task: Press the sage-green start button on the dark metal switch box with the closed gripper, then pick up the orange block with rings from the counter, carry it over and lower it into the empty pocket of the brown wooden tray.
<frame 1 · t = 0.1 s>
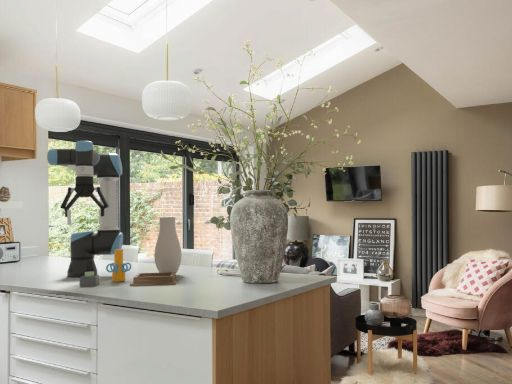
hand: (84, 224, 224), 28 cm above the worktop, fingers open, 13 cm apart
start button: (89, 275, 232), point 4 cm above the worktop, slide at 0.0 cm
brown wooden tray: (155, 282, 237), on the worktop
orange block with rings: (119, 281, 245), on the worktop
switch box: (89, 285, 232), on the worktop
vase: (168, 275, 263), on the worktop
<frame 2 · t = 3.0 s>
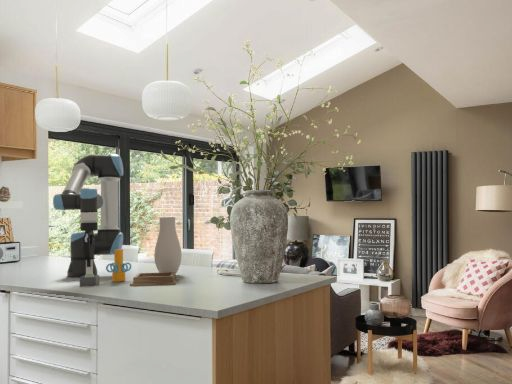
hand: (89, 273, 232), 5 cm above the worktop, fingers closed
start button: (89, 277, 232), point 3 cm above the worktop, slide at 1.1 cm, touching gripper
everything else where it was.
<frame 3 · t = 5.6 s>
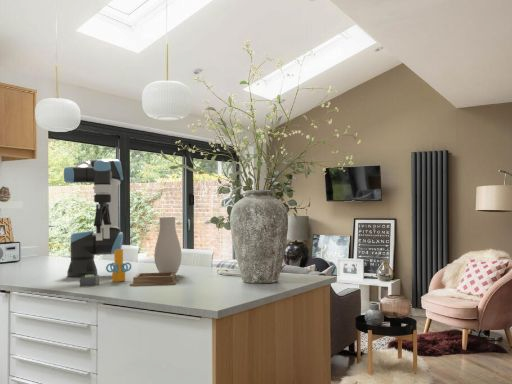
hand: (102, 239, 239), 20 cm above the worktop, fingers open, 13 cm apart
start button: (89, 278, 232), point 3 cm above the worktop, slide at 1.4 cm
everything else where it was.
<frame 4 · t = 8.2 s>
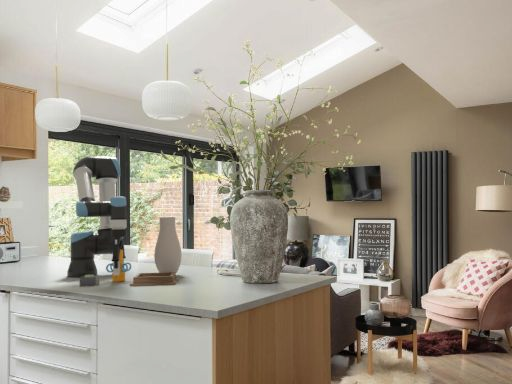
hand: (119, 273, 245), 3 cm above the worktop, fingers closed on orange block with rings, 12 cm apart
orange block with rings: (119, 281, 245), on the worktop, touching gripper
everything else where it was.
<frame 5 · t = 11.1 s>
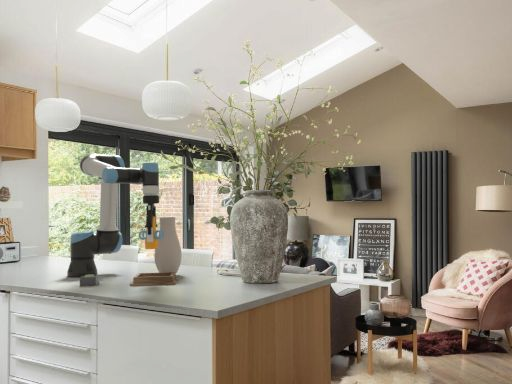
hand: (151, 241, 238), 19 cm above the worktop, fingers closed on orange block with rings, 12 cm apart
orange block with rings: (151, 249, 238), point 15 cm above the worktop, touching gripper
everything else where it was.
when the fingers open (6 cm above the worktop, at t = 14.2 s): orange block with rings drops 2 cm, resting on brown wooden tray.
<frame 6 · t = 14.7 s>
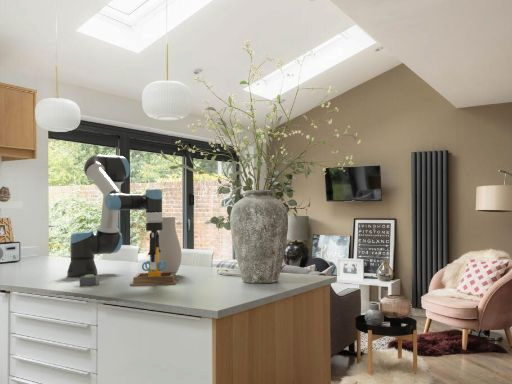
hand: (154, 267, 238), 7 cm above the worktop, fingers open, 13 cm apart
orange block with rings: (154, 280, 237), point 1 cm above the worktop, touching brown wooden tray
everything else where it was.
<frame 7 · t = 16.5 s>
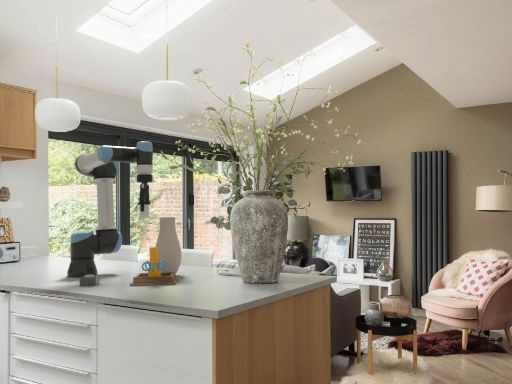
hand: (144, 218, 245), 30 cm above the worktop, fingers open, 13 cm apart
nothing on the worktop moved.
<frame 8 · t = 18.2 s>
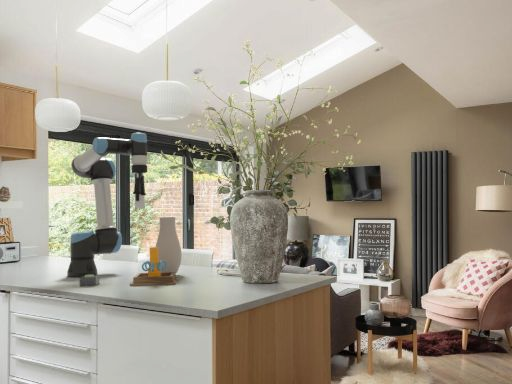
hand: (139, 208, 249), 35 cm above the worktop, fingers open, 13 cm apart
nothing on the worktop moved.
at the end: orange block with rings inside the target area on the brown wooden tray (0.1 cm from its centre), point 0.9 cm above the brown wooden tray's base; orange block with rings tilted 1°; start button slide at 1.4 cm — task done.
